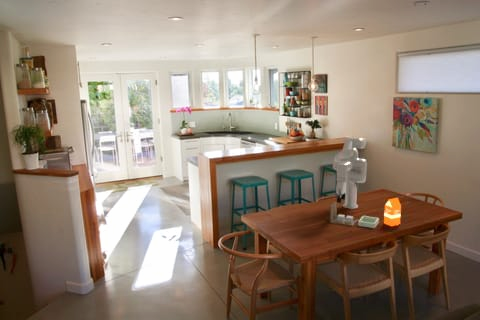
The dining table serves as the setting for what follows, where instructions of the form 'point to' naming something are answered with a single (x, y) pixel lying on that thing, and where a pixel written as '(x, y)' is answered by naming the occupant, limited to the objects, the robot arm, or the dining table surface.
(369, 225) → the sage bin
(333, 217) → the brown hollow box
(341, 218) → the stone cube
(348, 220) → the stone cube
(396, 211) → the orange juice
